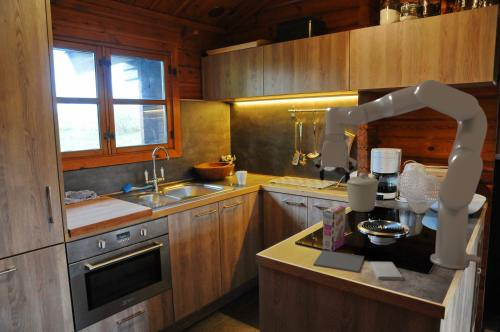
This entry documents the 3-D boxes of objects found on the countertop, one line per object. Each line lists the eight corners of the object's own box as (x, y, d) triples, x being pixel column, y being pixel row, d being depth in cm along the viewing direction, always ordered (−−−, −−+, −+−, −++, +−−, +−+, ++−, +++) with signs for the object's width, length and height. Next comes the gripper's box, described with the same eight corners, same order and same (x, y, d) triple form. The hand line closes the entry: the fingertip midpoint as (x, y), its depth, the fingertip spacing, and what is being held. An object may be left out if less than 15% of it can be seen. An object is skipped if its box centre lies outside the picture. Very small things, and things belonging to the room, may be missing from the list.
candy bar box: (333, 252, 145) (333, 212, 143) (322, 249, 148) (322, 210, 146) (345, 244, 154) (346, 206, 151) (334, 241, 157) (335, 204, 154)
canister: (365, 204, 217) (366, 169, 214) (385, 212, 200) (386, 174, 197) (338, 207, 211) (339, 171, 208) (357, 215, 194) (358, 176, 191)
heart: (449, 220, 183) (451, 176, 179) (421, 222, 180) (423, 178, 177) (415, 206, 210) (417, 168, 207) (390, 207, 208) (391, 169, 204)
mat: (364, 257, 139) (364, 256, 139) (358, 272, 127) (358, 270, 127) (322, 251, 146) (322, 250, 146) (313, 265, 133) (313, 263, 133)
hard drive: (403, 277, 120) (392, 261, 133) (377, 276, 121) (369, 261, 133) (403, 281, 121) (392, 265, 133) (377, 281, 121) (369, 265, 134)
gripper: (359, 138, 144) (358, 180, 147) (316, 137, 151) (315, 178, 154) (356, 139, 137) (355, 184, 140) (311, 138, 145) (310, 181, 147)
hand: (334, 181), depth 147 cm, fingers open, 9 cm apart
